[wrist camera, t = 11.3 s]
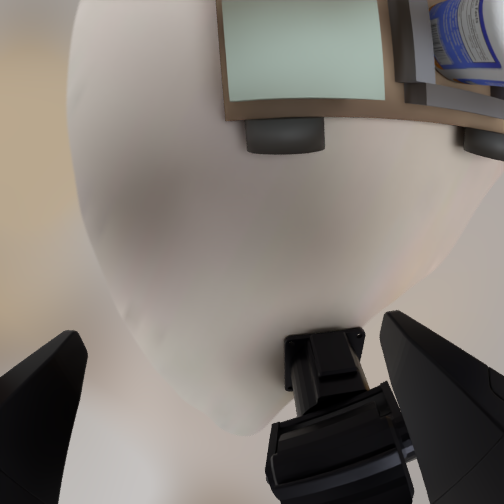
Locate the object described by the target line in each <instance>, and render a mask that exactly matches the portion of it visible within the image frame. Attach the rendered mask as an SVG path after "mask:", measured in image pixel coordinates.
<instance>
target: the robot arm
mask: <svg viewBox="0 0 504 504" xmlns="http://www.w3.org/2000/svg"><path fill="white" fill-rule="evenodd" d="M358 334H360V335H358ZM364 339H365V332H364V330H363V329H362V328H357V329H349V330H342V331H334V332H325V333H316V334H307V335H297V336H289V337H287V338H286V339H285V341H284V362H285V390H286V391H293V392H294V399H295V405H296V412H297V417H296V418H293V419H291V420H287V421H284V422H277V423H273V424H272V428H271V434H270V439H269V447H268V453H267V460H266V467H265V474H266V481H267V483H268V484H269V485H270V487H271V490H272V492H273V493H274V495H275V496H276V498H278V500H280V502H281V504H412V498H413V495H414V488H413V484H412V481H411V478H410V474H409V471H408V468H407V465H406V463H407V462H410V461H412V460H415V459H417V460H418V463H419V467H420V470H421V473H422V477H423V480H424V483H425V487H426V490H427V494H428V498H429V501H430V504H504V376H503V375H501V374H499V373H498V372H497V371H495V370H493V369H492V368H490V367H489V368H488V366H487V365H486V364H484V363H483V362H481V361H479V360H478V359H476V358H475V357H473V356H472V355H470V354H468V353H467V352H465V351H464V350H462V349H461V348H459V347H457V346H456V345H454V344H453V343H451V342H449V341H448V340H446V339H445V338H443V337H441V336H440V335H438V334H437V333H435V332H433V331H432V330H430V329H429V328H427V327H425V326H424V325H422V324H420V323H419V322H417V321H416V320H414V319H412V318H411V317H409V316H407V315H406V314H404V313H402V312H401V311H398V310H396V311H389V312H386V313H385V314H384V317H383V321H382V326H381V331H380V343H381V347H382V350H383V354H384V358H385V362H386V365H387V369H388V373H389V377H390V381H391V385H392V387H393V391H394V393H395V396H396V399H397V401H398V404H399V406H398V404H397V402H396V399H395V397H394V395H393V393H392V391H391V388H390V386H389V384H388V382H387V381H385V382H383V383H381V384H380V385H379V386H377V387H375V388H373V389H370V388H369V386H368V383H367V380H366V377H365V375H364V372H363V369H362V367H361V364H360V358H361V354H362V350H363V344H364ZM289 342H293V343H289ZM87 358H88V353H87V350H86V347H85V346H84V343H83V341H82V339H81V337H80V335H79V333H78V332H77V331H74V330H66V331H63V332H62V333H61V334H59V335H58V336H56V337H55V338H54V339H52V340H51V341H49V342H48V343H47V344H45V345H44V346H42V347H41V348H40V349H38V350H37V351H36V352H34V353H33V354H31V355H30V356H28V357H27V358H26V359H24V360H23V361H22V362H20V363H19V364H18V365H16V366H15V367H13V368H12V369H11V370H9V371H8V372H7V373H6V374H4V375H3V376H1V377H0V504H58V501H59V494H60V488H61V482H62V477H63V471H64V466H65V461H66V456H67V451H68V447H69V442H70V438H71V433H72V429H73V425H74V421H75V417H76V413H77V409H78V405H79V401H80V397H81V392H82V385H83V380H84V374H85V368H86V364H87ZM399 407H400V408H399ZM400 410H401V411H400Z"/></svg>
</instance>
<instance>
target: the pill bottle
mask: <svg viewBox="0 0 504 504" xmlns="http://www.w3.org/2000/svg"><path fill="white" fill-rule="evenodd" d="M429 15H430V22H431V31H432V40H433V50H434V63H435V68H436V69H437V70H438V71H439V72H440V73H441V74H442V75H443V76H445V77H446V78H448V79H449V80H451V81H454V82H457V83H462V84H473V85H490V86H500V87H504V0H446V1H443V2H440V3H438V4H435V5H433V6H432V7H430V8H429Z"/></svg>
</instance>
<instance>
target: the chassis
mask: <svg viewBox="0 0 504 504" xmlns="http://www.w3.org/2000/svg"><path fill="white" fill-rule="evenodd" d="M443 1H446V0H216V10H217V23H218V36H219V49H220V62H221V74H222V86H223V98H224V109H225V121H235V120H245V129H246V141H247V151H248V152H251V153H256V154H274V155H276V154H302V153H311V152H317V151H321V150H324V149H325V136H324V117H367V118H387V119H401V120H413V121H423V122H433V123H441V124H449V125H457V126H463V127H465V138H464V150H465V151H467V152H470V153H473V154H476V155H480V156H483V157H487V158H491V159H496V160H500V161H504V87H500V86H490V85H473V84H462V83H457V82H454V81H451V80H449V79H448V78H446V77H445V76H443V75H442V74H441V73H440V72H439V71H438V70H437V69H436V68H435V63H434V50H433V40H432V31H431V22H430V15H429V8H430V7H432V6H433V5H435V4H438V3H440V2H443Z"/></svg>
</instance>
